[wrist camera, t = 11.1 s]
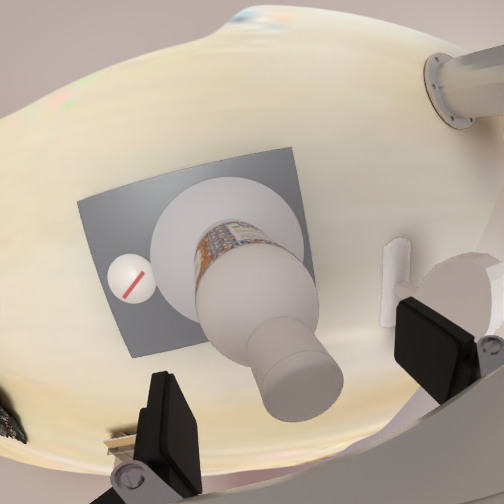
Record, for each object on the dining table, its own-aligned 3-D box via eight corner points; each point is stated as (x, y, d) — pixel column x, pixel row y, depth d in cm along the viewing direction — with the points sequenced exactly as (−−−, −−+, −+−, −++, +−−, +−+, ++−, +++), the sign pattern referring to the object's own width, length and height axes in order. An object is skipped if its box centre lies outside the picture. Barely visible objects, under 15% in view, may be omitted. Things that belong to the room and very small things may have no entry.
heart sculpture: (403, 328, 40) (484, 389, 23) (378, 337, 39) (457, 408, 22) (411, 228, 36) (519, 262, 19) (383, 232, 35) (495, 272, 18)
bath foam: (192, 219, 27) (190, 314, 8) (266, 216, 28) (408, 289, 9) (196, 291, 28) (212, 466, 9) (266, 286, 30) (371, 432, 10)
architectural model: (106, 425, 35) (98, 460, 28) (142, 417, 35) (138, 454, 28) (118, 438, 36) (112, 473, 29) (154, 431, 36) (152, 467, 29)
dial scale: (284, 149, 30) (295, 145, 27) (310, 301, 35) (322, 313, 32) (85, 199, 27) (72, 202, 24) (135, 347, 32) (130, 364, 29)
